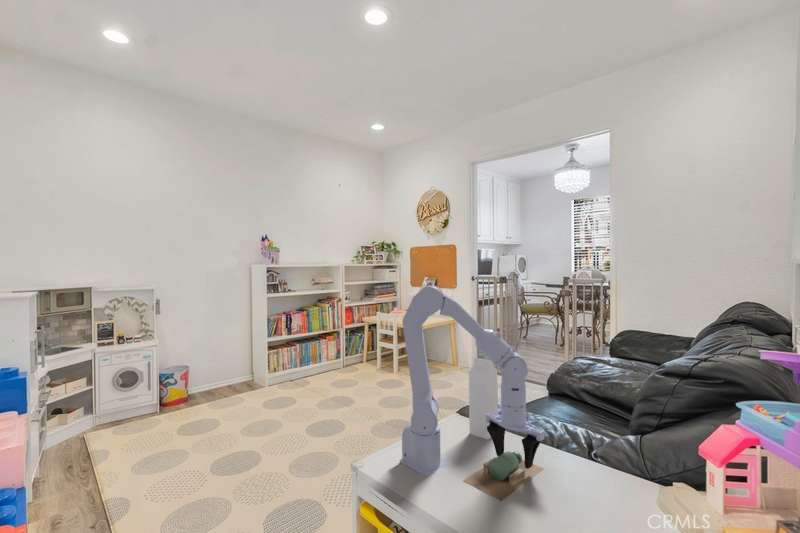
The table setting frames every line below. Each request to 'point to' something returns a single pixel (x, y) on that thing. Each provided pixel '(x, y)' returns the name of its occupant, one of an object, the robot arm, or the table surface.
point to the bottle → (504, 465)
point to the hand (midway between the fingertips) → (514, 460)
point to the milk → (482, 396)
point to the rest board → (506, 486)
